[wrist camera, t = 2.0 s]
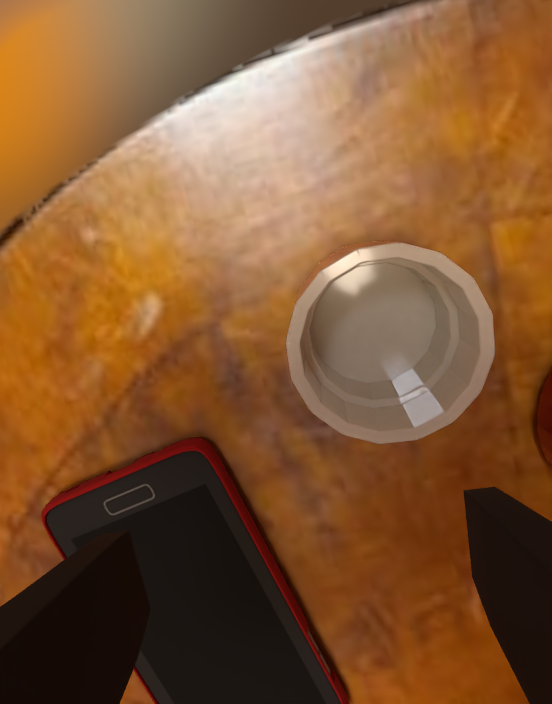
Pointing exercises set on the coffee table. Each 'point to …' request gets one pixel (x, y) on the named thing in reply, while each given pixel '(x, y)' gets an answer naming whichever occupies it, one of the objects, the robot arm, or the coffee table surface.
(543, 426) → the soda can
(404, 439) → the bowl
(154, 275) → the coffee table surface
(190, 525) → the cell phone
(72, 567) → the robot arm
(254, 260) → the coffee table surface
